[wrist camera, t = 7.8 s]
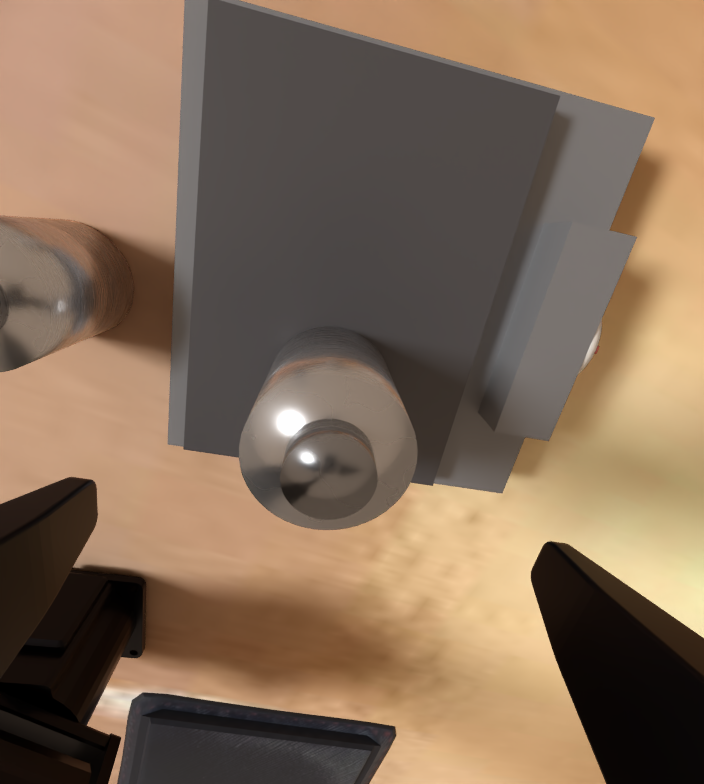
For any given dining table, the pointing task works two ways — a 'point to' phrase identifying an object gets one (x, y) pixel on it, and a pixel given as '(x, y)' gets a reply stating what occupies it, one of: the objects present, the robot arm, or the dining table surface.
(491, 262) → the scale
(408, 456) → the weight
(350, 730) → the wallet
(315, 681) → the dining table surface
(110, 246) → the weight
